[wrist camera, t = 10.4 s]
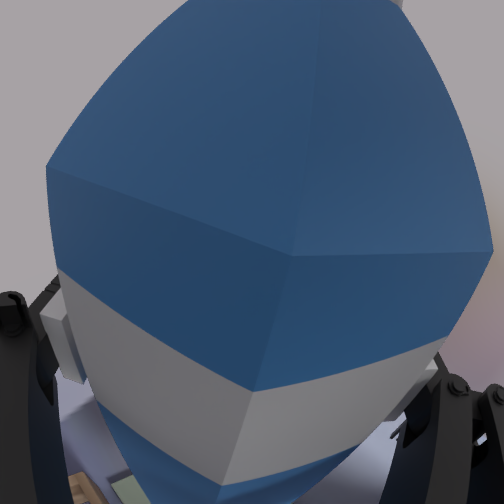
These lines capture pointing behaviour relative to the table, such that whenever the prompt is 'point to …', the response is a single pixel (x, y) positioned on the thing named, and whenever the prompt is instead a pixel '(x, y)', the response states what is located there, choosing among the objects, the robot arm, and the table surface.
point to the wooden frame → (85, 490)
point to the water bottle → (263, 240)
